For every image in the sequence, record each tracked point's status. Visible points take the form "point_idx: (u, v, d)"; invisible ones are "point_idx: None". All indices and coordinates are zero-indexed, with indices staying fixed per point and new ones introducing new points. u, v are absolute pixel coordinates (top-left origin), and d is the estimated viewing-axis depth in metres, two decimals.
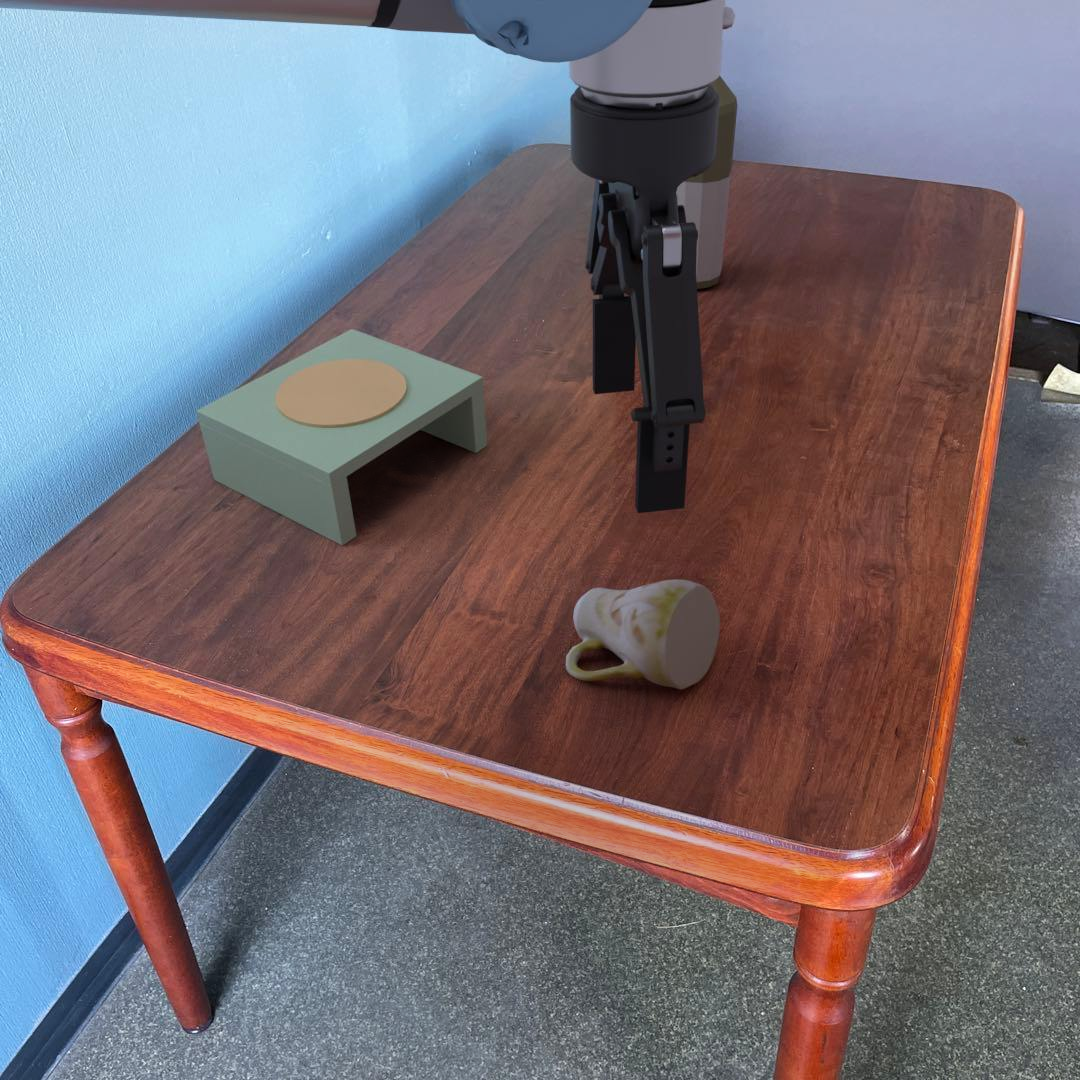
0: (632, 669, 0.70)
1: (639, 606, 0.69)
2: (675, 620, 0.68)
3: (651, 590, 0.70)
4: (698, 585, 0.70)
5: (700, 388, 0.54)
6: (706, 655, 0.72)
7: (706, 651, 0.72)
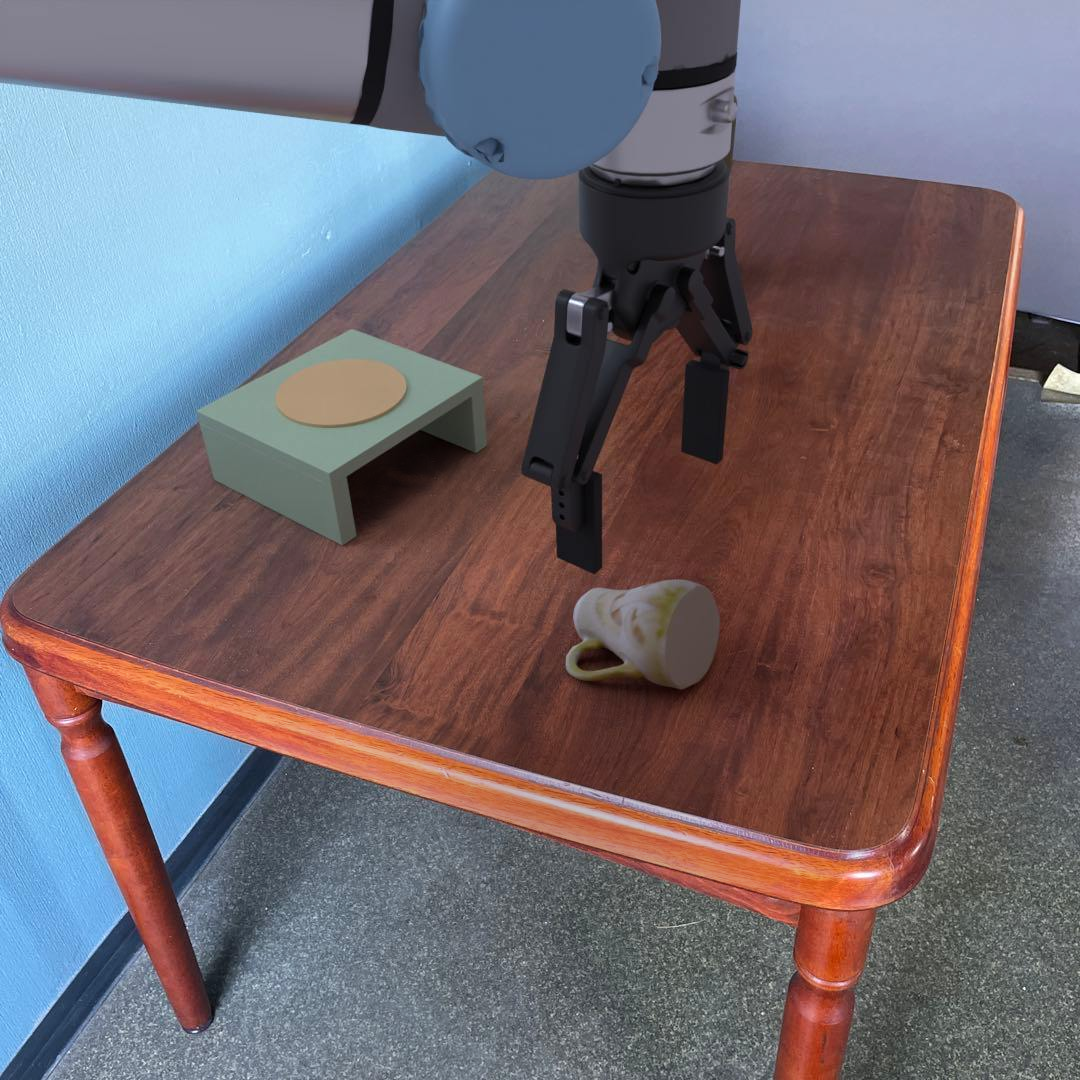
0: (633, 669, 0.70)
1: (640, 606, 0.69)
2: (675, 620, 0.68)
3: (651, 590, 0.70)
4: (698, 585, 0.70)
5: (562, 458, 0.54)
6: (706, 655, 0.72)
7: (706, 651, 0.72)
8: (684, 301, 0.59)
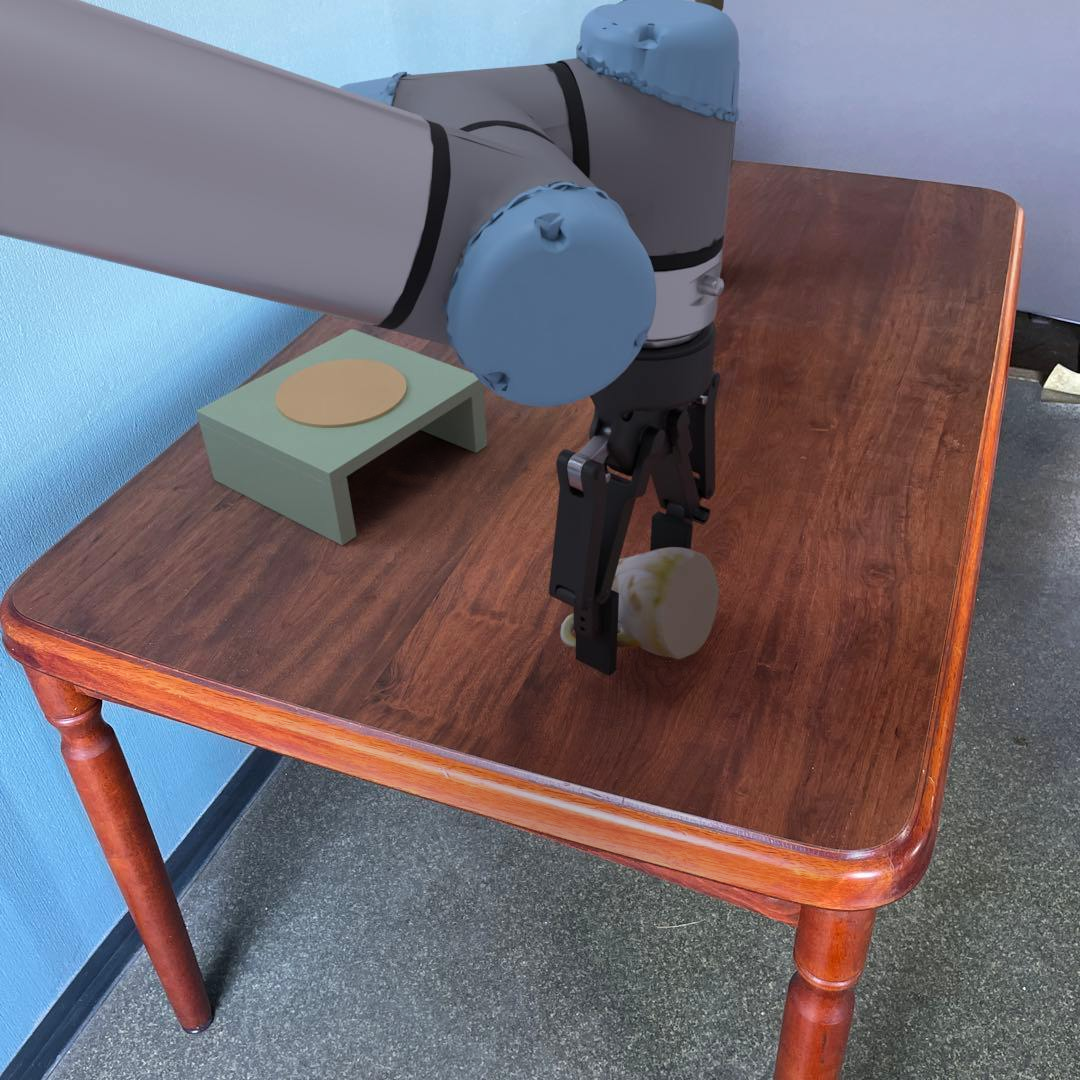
0: (629, 638, 0.69)
1: (637, 573, 0.68)
2: (673, 588, 0.67)
3: (649, 557, 0.68)
4: (697, 553, 0.68)
5: (582, 588, 0.62)
6: (704, 625, 0.70)
7: (704, 622, 0.70)
8: None
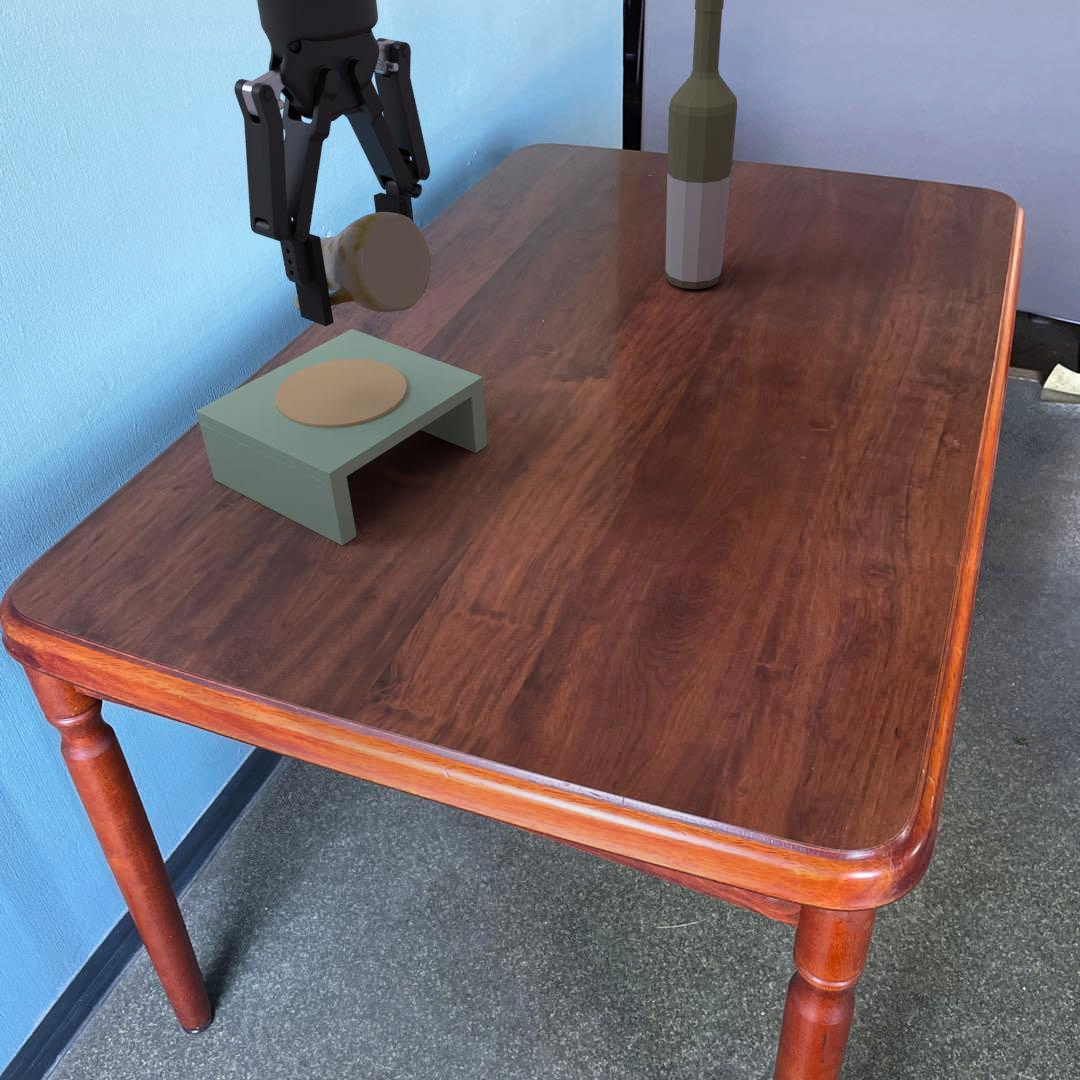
0: (342, 291, 0.78)
1: (346, 230, 0.77)
2: (373, 237, 0.76)
3: (359, 218, 0.77)
4: (402, 215, 0.77)
5: (271, 215, 0.71)
6: (414, 285, 0.79)
7: (415, 282, 0.79)
8: None
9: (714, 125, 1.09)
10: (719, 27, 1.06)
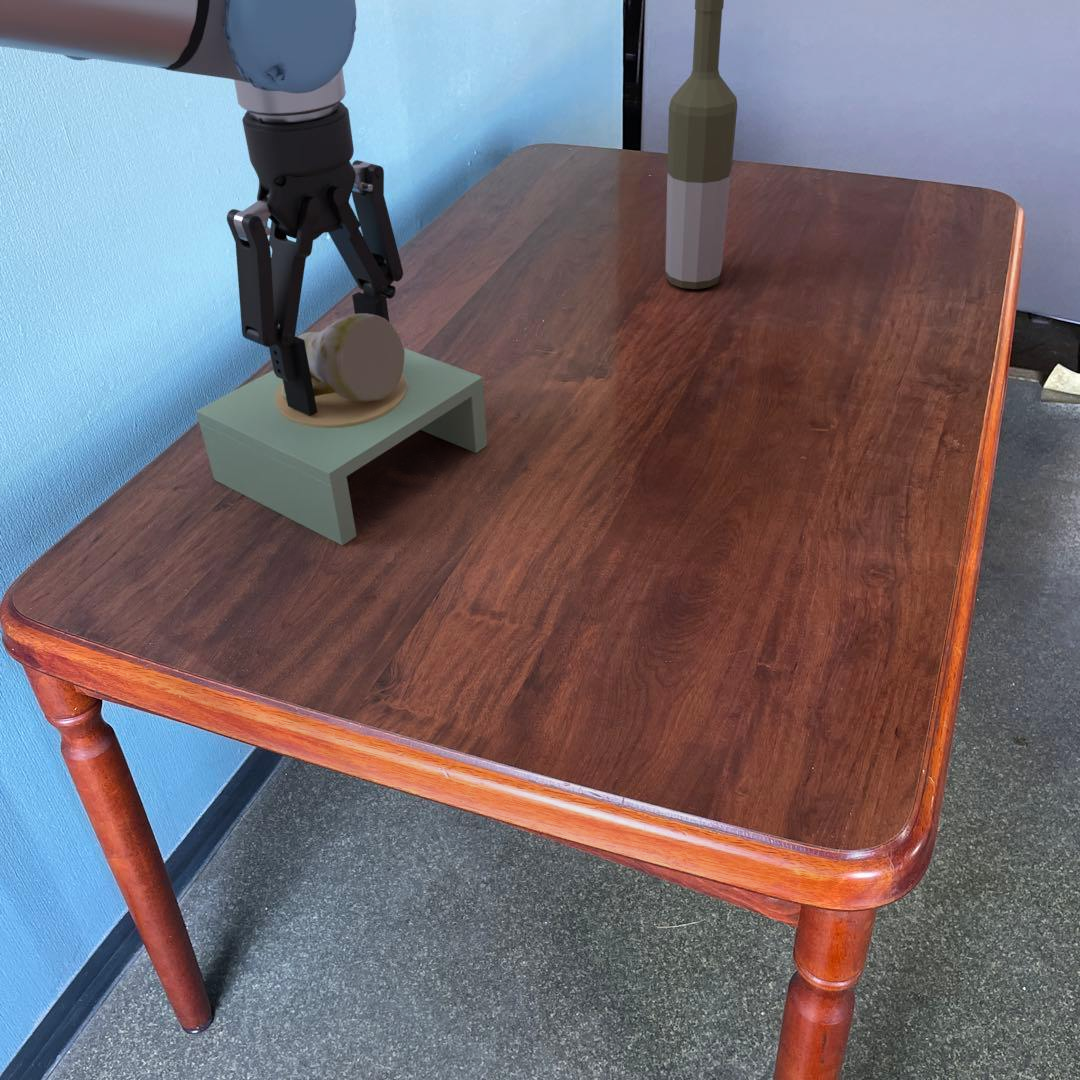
0: (325, 385, 0.87)
1: (327, 331, 0.86)
2: (351, 338, 0.84)
3: (339, 319, 0.86)
4: (377, 316, 0.86)
5: (261, 325, 0.80)
6: (389, 377, 0.88)
7: (390, 375, 0.88)
8: None
9: (714, 125, 1.09)
10: (719, 27, 1.06)
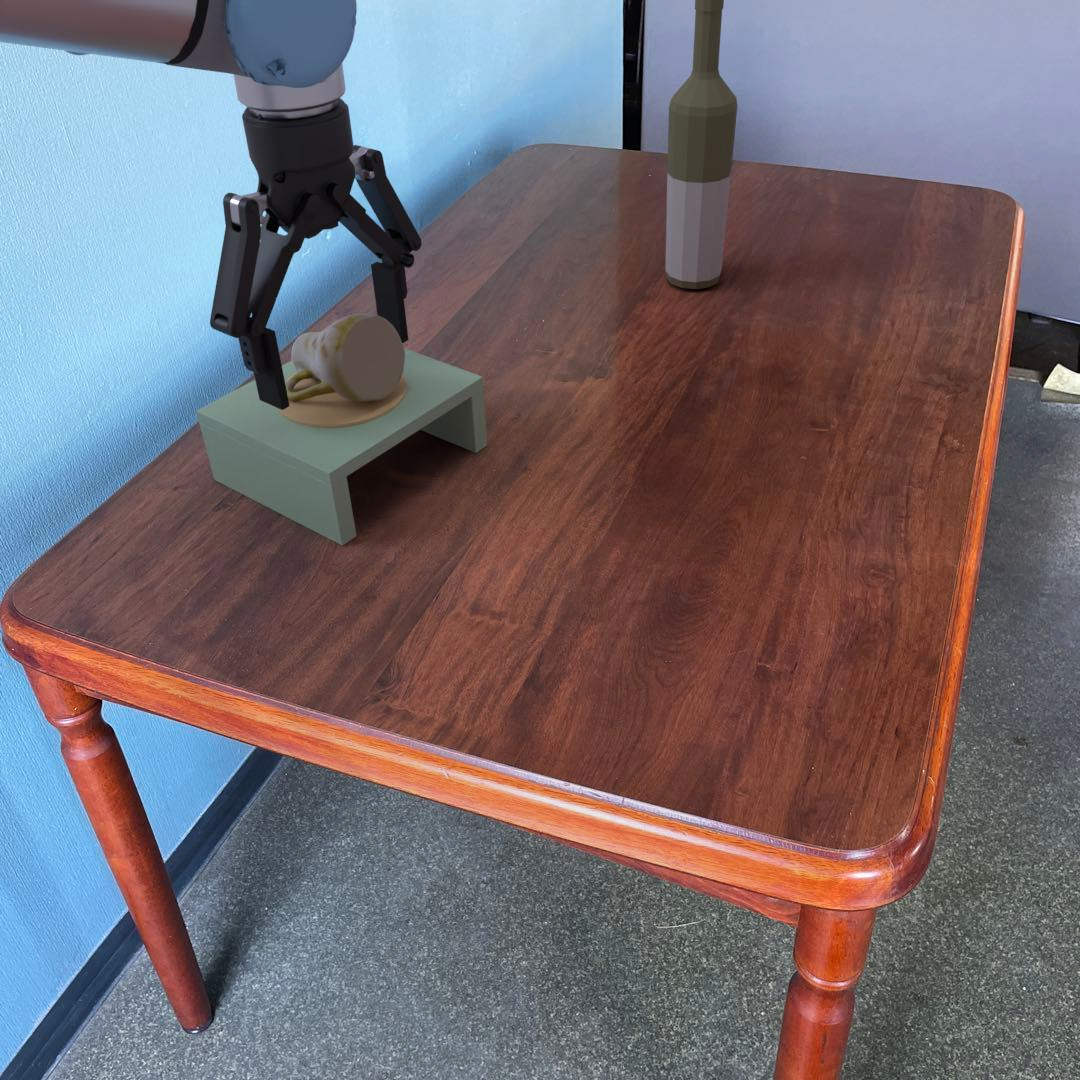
0: (325, 384, 0.87)
1: (327, 330, 0.86)
2: (352, 338, 0.84)
3: (339, 319, 0.86)
4: (378, 316, 0.86)
5: (233, 312, 0.77)
6: (389, 377, 0.88)
7: (390, 375, 0.88)
8: (339, 208, 0.82)
9: (714, 125, 1.09)
10: (719, 27, 1.06)
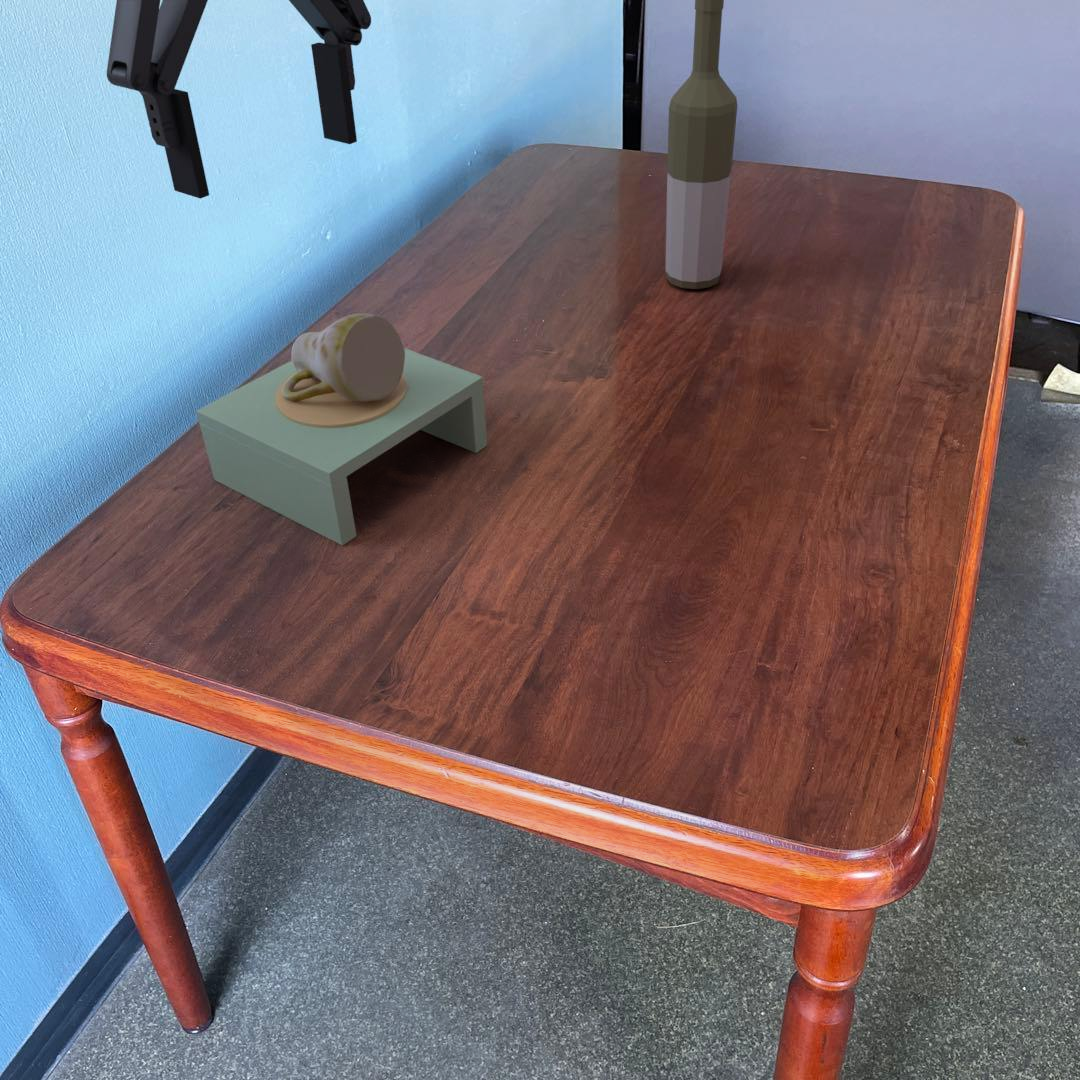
0: (325, 384, 0.87)
1: (327, 330, 0.86)
2: (352, 338, 0.84)
3: (339, 319, 0.86)
4: (378, 316, 0.86)
5: (132, 56, 0.64)
6: (389, 377, 0.88)
7: (390, 375, 0.88)
8: None
9: (714, 125, 1.09)
10: (719, 27, 1.06)
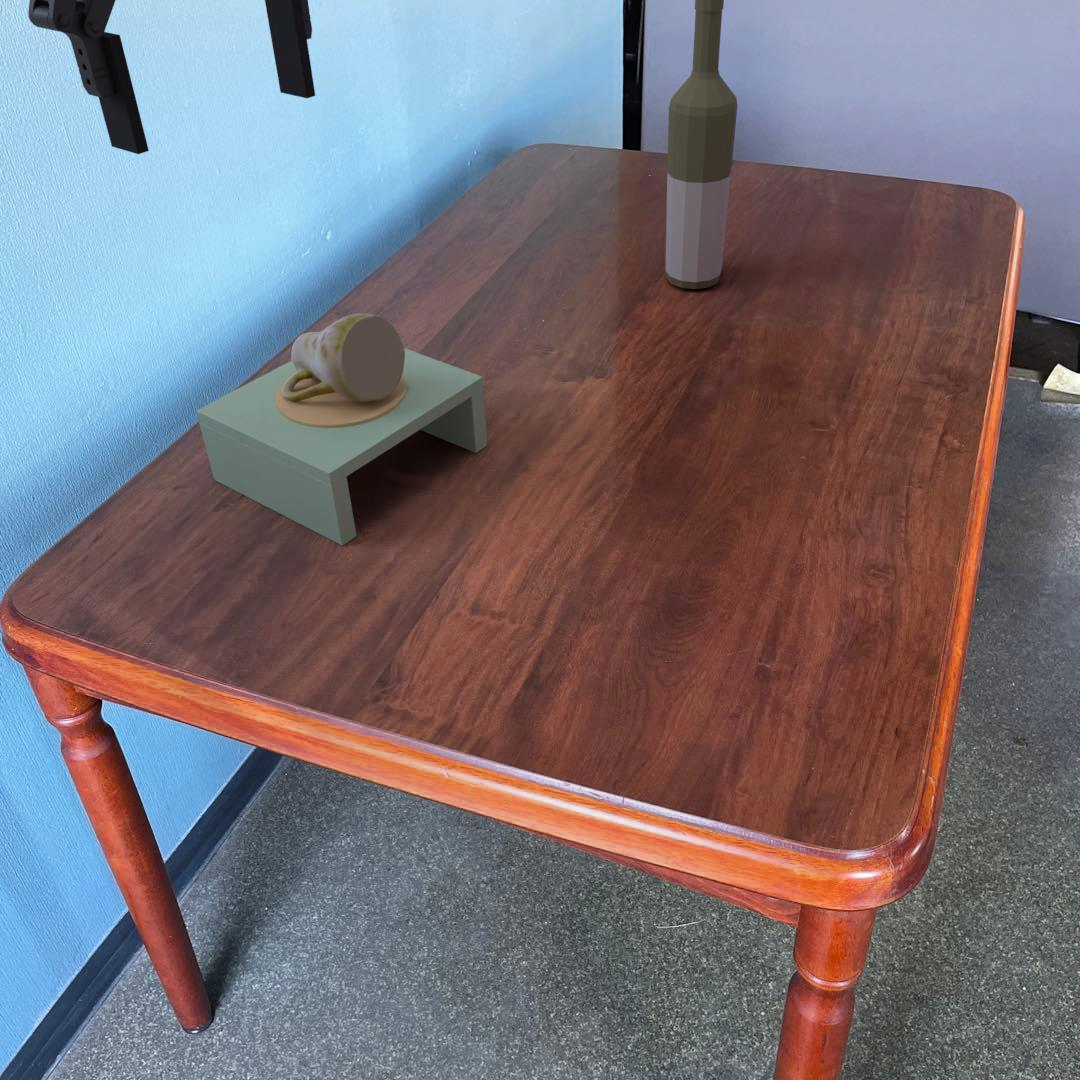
0: (325, 384, 0.87)
1: (327, 330, 0.86)
2: (352, 338, 0.84)
3: (339, 319, 0.86)
4: (378, 316, 0.86)
5: None
6: (389, 377, 0.88)
7: (390, 375, 0.88)
8: None
9: (714, 125, 1.09)
10: (719, 27, 1.06)
